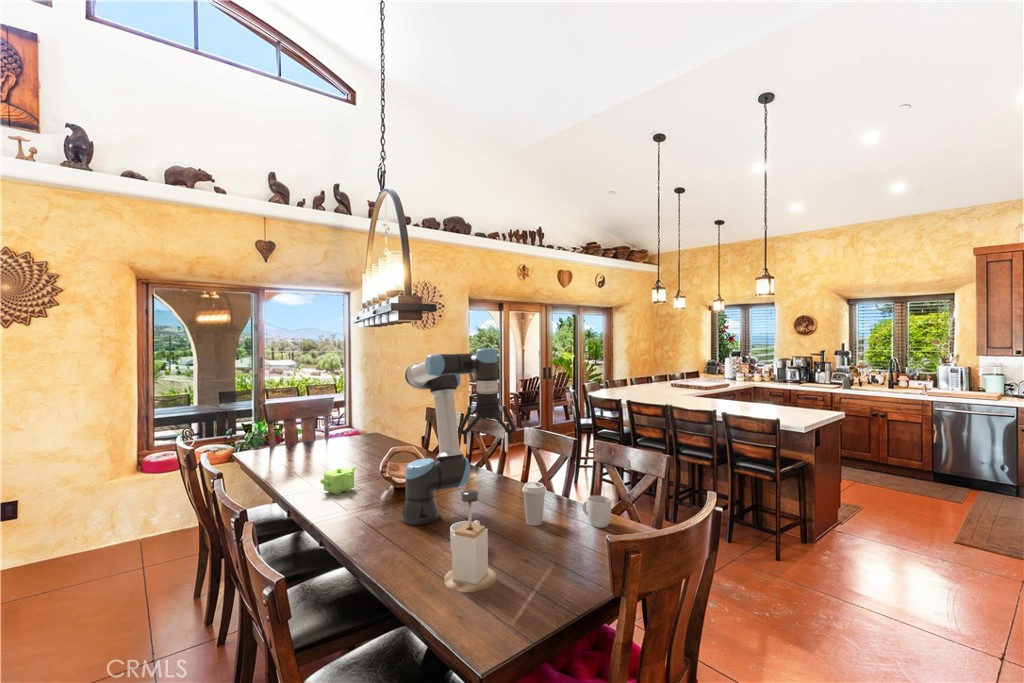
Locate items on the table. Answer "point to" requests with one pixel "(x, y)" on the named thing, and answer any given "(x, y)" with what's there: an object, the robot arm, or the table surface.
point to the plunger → (469, 503)
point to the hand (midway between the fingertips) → (487, 452)
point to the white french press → (470, 554)
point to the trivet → (461, 587)
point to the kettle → (338, 480)
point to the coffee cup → (534, 502)
